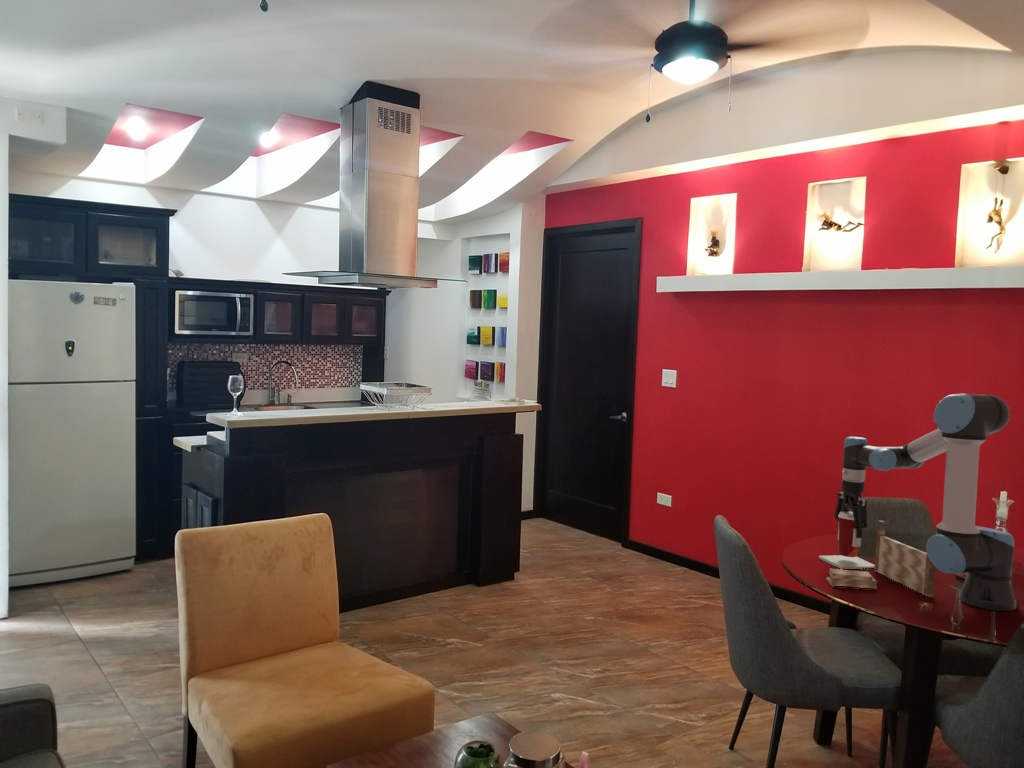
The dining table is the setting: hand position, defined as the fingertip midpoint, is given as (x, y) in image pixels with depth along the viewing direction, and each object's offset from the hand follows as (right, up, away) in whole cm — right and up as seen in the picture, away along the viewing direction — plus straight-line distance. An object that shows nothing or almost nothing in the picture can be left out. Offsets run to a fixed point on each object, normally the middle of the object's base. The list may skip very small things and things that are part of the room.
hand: (848, 543), depth 283 cm
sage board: (0, -7, 0) cm, 7 cm away
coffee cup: (0, -4, 0) cm, 4 cm away
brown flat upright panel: (+9, -9, -21) cm, 25 cm away
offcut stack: (-10, -9, -25) cm, 28 cm away
